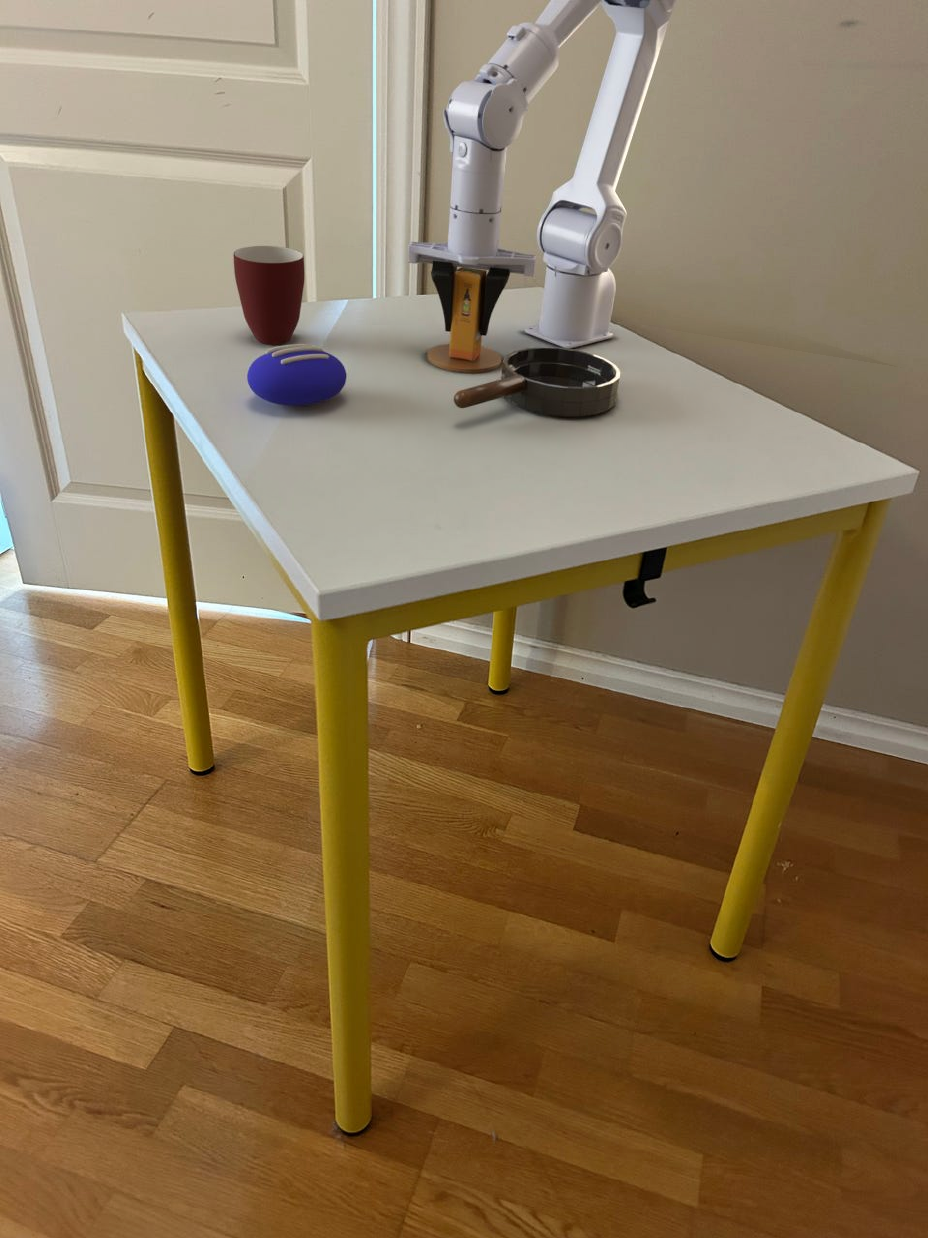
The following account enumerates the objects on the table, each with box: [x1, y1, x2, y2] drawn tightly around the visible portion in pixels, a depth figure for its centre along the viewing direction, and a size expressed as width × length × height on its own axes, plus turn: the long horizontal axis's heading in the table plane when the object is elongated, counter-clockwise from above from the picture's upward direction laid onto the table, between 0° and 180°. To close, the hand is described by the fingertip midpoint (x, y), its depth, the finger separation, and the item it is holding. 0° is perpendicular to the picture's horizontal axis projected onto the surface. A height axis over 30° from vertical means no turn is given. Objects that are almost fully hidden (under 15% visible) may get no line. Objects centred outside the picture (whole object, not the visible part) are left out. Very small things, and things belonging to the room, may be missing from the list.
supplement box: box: [449, 267, 488, 361], centre depth 104 cm, size 3×3×10 cm
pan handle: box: [453, 375, 526, 409], centre depth 92 cm, size 10×2×2 cm, turn 133°
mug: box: [232, 245, 306, 346], centre depth 106 cm, size 11×8×10 cm
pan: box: [500, 346, 621, 418], centre depth 99 cm, size 13×13×4 cm
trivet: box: [427, 343, 502, 374], centre depth 107 cm, size 9×9×1 cm
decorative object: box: [246, 343, 347, 407], centre depth 92 cm, size 10×6×10 cm
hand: (466, 331), depth 105 cm, fingers closed on supplement box, 3 cm apart
